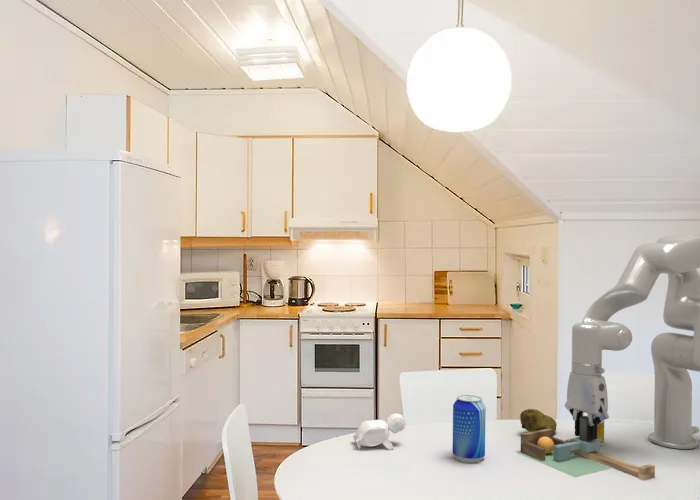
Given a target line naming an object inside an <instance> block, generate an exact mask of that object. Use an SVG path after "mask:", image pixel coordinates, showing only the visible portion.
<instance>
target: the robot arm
mask: <svg viewBox="0 0 700 500" xmlns="http://www.w3.org/2000/svg"><path fill="white" fill-rule="evenodd" d="M698 269H700V234H686V235H683V234H679V235H677V234H675V235H666V236H662V237H660V238H659V239H657V240H656V242H651V243H650V242H649V243H648V242H647V243H643V244H640V245H639V246H637V247H636V248H635V250H634V251H633V253H632V255H631V257H630V259H629V261H628V262H627V264H626V267H625V268H624V270H623V271H622V274H621V276H620V277H619V279H618V281H617V283H616V285H614V286H613V287H612V288H611V289H608V290H607V291H606V292H605V293H604V294H602V295H601V296H599V298H597V299H596V300H595V301H594V302H593V303H592V304H591V305H590V307H589V308H588V310H587V311H586V313H585V314H584V315H585V316H584V317H583V319H582V321H581V322H577V323H574V324H573V325H572V329H571V371H570V372H569V376H568V381H567V390H566V402H565V404H564V407H565V408H566V410H567V411H568V412H569V414H571V416H572V420H573V421H574V436H575V437H579V427H580V416H584V414H585V413H586V414H587V413H588V414H587V415H588V418H589V425H587V440H589V441H590V440H595V439H597V425H599V424H600V422H601V421H603V420H604V421H605V420H608V419H609V418H610V416H609V413H608V409H609V401H608V399H609V398H608V388H607V384H606V377H605V376H604V375H603V374H605V371H606V369H605V368H603V367H602V366H603V364H602V363H603V361H602V359H603V351H604V350H605V351H613V352H615V351H616V352H618V351H619V352H620V351H624V350H626V349H627V348H628V347H630V345H631V343H632V341H633V335H632V334H633V333H632V331H631V330H630V329H629V327H628V326H626V325H624V324H622V323H619V322H614V321H609V320H610V318H611V317H612V316H614V315H615V314H617V313H618V312H619V311H621V310H625V309H626V308H630V307H632V306H636V305H638V304H641V303H643V302H645V301H646V300H647V299H648V298H649V295H650V294H651V291H652V289H653V288H654V285H655V284H656V281H657V280H658V278H659V276H660V274H667V277H668V278H667V279H668V283H667V290H666V296H665V302H664V308H663V314H662V318H663V322H664V323H665V325H667V326H668V327H671V328H672V329H673V328H674V329H677V330H683V331H691V332H693V335H688V334H683V333H678V332H677V333H676V332H662V333H660V334H657V335H656V336H655V337H654V338H653V340H651V345H650V352H651V353H650V354H651V357H652V362H653V369H654V370H653V371H654V396H653V397H654V400H653V401H654V405H653V406H654V411H653V413H654V414H653V415H654V417H653V421H654V422H653V431H652V432H650V433H648V435H647V438H648V440H649V441H650V442H652V443H653V444H655V445H658V446H661V447H665V448H670V449H679V450H690V449H691V450H693V449H696V448H697V447H698V445H699V443H698V442H699V441H698V440H697V439H695V438H694V437H693V435H694V434H698V433H699V432H700V428H699V427H698V426H696V425H695V426H693V425H692V424H693V422H692V421H693V420H692V418H693V382H692V378H691V375H690V373H689V371H694V372H698V373H700V272H699V271H698ZM599 412H600V416H599ZM593 416H594V417H593Z"/></svg>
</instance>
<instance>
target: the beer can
mask: <svg viewBox="0 0 700 500" xmlns="http://www.w3.org/2000/svg"><path fill="white" fill-rule="evenodd" d="M486 412H487V411H486V405H485V403H484V402H483V398H482V397H481V396H480V395H475V394H460V395H457V396H456V400H455V401H454V403H453V405H452V455H453V456H454V457H455V460H457V461H458V462H461V463H465V464H466V463H467V464H476V463H479V462H482V461H483V458H484V457H485V456H486Z"/></svg>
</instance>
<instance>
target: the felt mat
mask: <svg viewBox="0 0 700 500" xmlns="http://www.w3.org/2000/svg"><path fill="white" fill-rule="evenodd" d="M515 453H518V454H519V455H522V456H524V457H527V458H529V459H532V460H533V461H536V462H539V463H541V464H543V465H545V466H548V467H550V468H552V469H554V470H557V471H559V472H562V473H564V474H566V475H568V476H571V477H573V478H577V477H582V476H585V475H590V474H593V473H594V474H595V473H598V472H603V471H605V470H607V471H608V470H609V469H611V467H609V466H606V465H603V464H601V463H598V462H596V461H593V460H590V459H588V458H585V457H583V456H580V455H577V454H575V453H572V455H571V459H568V460H563V461H559V462H558V461H556V460H554V459H553V451H552V452H551V453H549V454H545V461H540V460H538V459H536V458H533V457H531V456H528V455H526V454H524V453H521V450H517V451H515Z"/></svg>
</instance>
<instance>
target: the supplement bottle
mask: <svg viewBox="0 0 700 500" xmlns="http://www.w3.org/2000/svg"><path fill="white" fill-rule="evenodd" d="M585 416H588V413H586V415H585ZM599 416H600V412H599ZM593 417H594V416H593ZM595 440H598V441H600V446H603V445H604V444H605V420H603V421H601V422H600V424H599V425H597V439H595Z"/></svg>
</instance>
